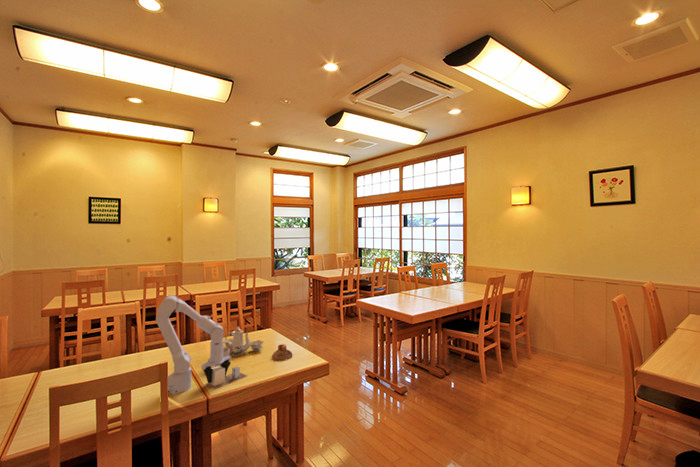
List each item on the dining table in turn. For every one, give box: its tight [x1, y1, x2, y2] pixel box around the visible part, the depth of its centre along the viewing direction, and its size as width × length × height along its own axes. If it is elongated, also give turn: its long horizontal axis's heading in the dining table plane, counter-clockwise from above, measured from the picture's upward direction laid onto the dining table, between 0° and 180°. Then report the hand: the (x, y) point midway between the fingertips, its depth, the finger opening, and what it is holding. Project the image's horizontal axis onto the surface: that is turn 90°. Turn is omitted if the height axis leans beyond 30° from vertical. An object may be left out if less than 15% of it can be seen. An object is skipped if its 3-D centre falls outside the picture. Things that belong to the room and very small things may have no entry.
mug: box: [207, 346, 231, 368], centre depth 171 cm, size 8×13×10 cm, turn 149°
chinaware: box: [223, 326, 264, 357], centre depth 199 cm, size 28×17×17 cm, turn 84°
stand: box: [204, 372, 248, 390], centre depth 156 cm, size 18×9×1 cm, turn 145°
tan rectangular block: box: [209, 366, 225, 386], centre depth 153 cm, size 5×5×7 cm
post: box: [231, 365, 241, 379], centre depth 159 cm, size 3×3×5 cm
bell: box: [271, 343, 293, 361], centre depth 190 cm, size 12×12×7 cm
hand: (216, 379), depth 153 cm, fingers open, 7 cm apart
